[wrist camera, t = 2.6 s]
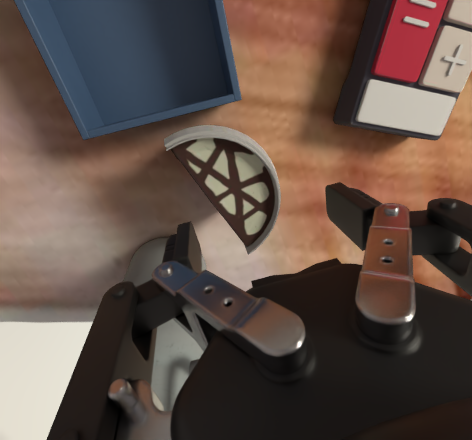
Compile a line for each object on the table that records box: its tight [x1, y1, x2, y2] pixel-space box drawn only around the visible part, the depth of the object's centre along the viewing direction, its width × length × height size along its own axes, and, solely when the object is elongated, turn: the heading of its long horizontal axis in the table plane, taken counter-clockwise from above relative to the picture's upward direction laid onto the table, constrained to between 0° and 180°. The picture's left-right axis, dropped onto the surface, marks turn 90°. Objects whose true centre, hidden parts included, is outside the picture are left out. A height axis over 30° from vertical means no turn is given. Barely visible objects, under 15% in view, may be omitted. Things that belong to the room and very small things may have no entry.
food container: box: [164, 125, 281, 255], centre depth 24 cm, size 12×6×10 cm, turn 33°
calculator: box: [333, 0, 472, 140], centre depth 24 cm, size 11×4×15 cm
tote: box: [14, 0, 241, 140], centre depth 20 cm, size 14×15×5 cm
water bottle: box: [123, 238, 206, 411], centre depth 22 cm, size 10×10×28 cm
